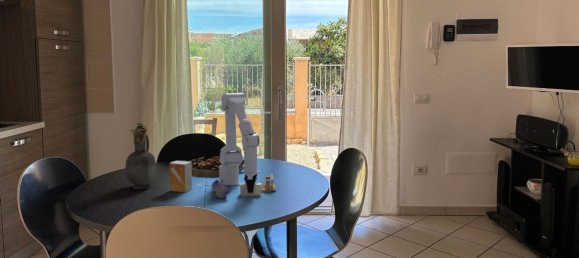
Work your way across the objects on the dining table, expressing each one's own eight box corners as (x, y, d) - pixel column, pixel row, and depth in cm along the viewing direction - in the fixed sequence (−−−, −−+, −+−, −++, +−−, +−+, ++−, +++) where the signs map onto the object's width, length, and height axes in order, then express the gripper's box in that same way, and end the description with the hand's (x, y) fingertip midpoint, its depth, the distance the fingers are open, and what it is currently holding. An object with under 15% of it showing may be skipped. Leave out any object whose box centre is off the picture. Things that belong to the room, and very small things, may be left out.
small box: (169, 191, 220) (168, 162, 218) (176, 187, 226) (176, 160, 224) (185, 192, 218) (184, 164, 216) (192, 189, 224) (191, 161, 222)
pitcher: (123, 191, 219) (121, 125, 214) (138, 181, 238) (136, 120, 233) (147, 192, 218) (145, 125, 214) (160, 181, 237) (158, 120, 233)
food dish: (232, 163, 287) (232, 150, 286) (258, 175, 259) (258, 161, 258) (173, 167, 269) (174, 153, 268) (195, 181, 241) (195, 166, 240)
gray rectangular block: (240, 196, 213) (240, 184, 213) (240, 193, 217) (240, 182, 216) (260, 195, 214) (260, 184, 213) (261, 193, 217) (261, 182, 216)
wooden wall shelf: (246, 192, 220) (246, 179, 219) (247, 185, 230) (247, 173, 230) (275, 191, 220) (275, 179, 219) (275, 185, 231) (275, 173, 230)
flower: (214, 188, 201) (223, 174, 208) (200, 193, 205) (210, 179, 213) (227, 204, 204) (235, 189, 211) (213, 208, 208) (222, 194, 216)
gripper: (259, 164, 206) (259, 196, 208) (260, 158, 220) (260, 187, 222) (242, 164, 206) (242, 196, 208) (244, 158, 220) (244, 187, 222)
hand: (250, 191), depth 215 cm, fingers closed on gray rectangular block, 3 cm apart
